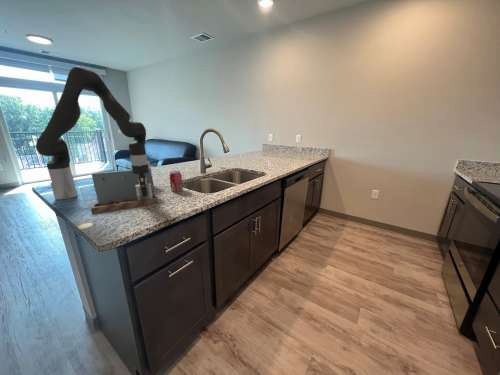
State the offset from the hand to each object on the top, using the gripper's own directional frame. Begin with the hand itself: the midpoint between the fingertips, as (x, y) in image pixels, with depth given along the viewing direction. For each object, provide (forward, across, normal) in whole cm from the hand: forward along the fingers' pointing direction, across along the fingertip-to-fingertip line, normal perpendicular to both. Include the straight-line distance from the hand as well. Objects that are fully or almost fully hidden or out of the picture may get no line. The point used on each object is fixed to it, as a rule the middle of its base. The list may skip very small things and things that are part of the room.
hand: (144, 193), depth 108 cm
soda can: (+5, -14, +18) cm, 23 cm away
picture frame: (+5, 0, 0) cm, 5 cm away
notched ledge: (+5, 0, -9) cm, 10 cm away
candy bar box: (+5, -30, 0) cm, 31 cm away
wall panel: (+5, -11, -9) cm, 15 cm away
